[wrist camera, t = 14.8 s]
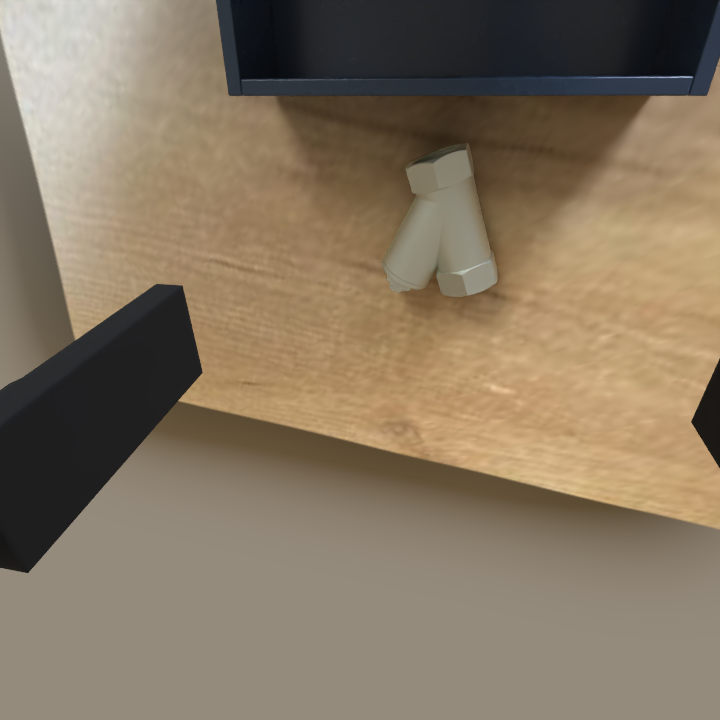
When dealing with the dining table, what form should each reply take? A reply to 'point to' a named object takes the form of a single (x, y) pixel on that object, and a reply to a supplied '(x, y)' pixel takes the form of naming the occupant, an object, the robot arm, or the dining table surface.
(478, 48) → the toolbox
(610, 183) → the dining table surface
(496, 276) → the pipe fitting
